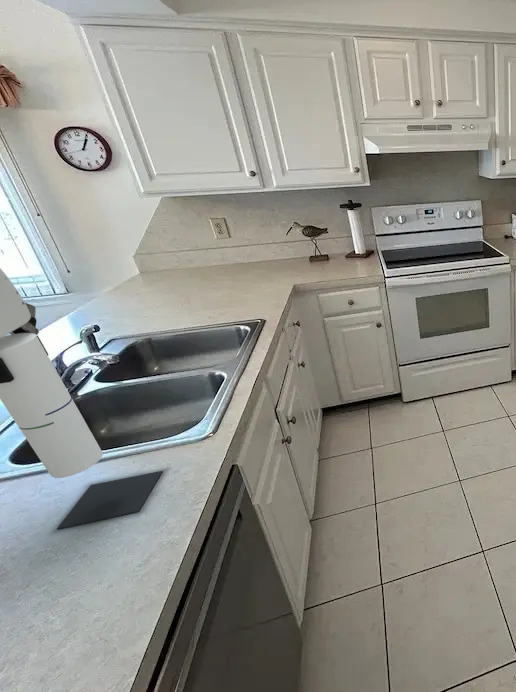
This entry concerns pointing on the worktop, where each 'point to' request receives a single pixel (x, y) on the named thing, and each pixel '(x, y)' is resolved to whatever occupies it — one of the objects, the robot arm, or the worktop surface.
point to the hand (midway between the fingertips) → (19, 369)
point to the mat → (111, 499)
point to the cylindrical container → (45, 408)
